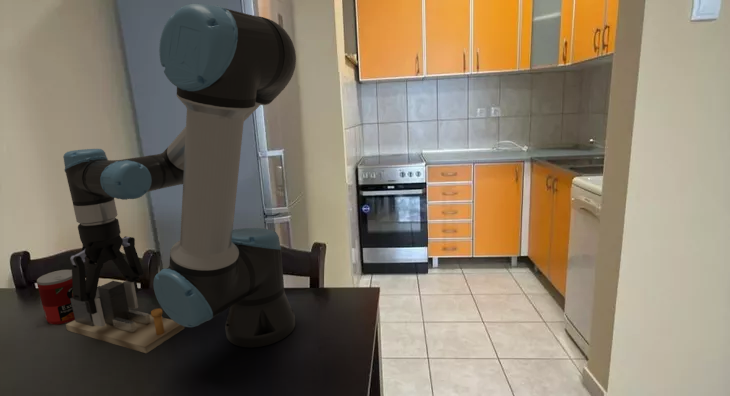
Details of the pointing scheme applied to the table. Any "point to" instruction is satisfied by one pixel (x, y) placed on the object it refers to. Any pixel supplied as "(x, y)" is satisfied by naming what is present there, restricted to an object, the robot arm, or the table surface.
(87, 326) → the rail board
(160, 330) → the keeper post
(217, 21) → the robot arm
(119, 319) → the two-pronged fork block
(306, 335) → the table surface
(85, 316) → the block
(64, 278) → the canned food
